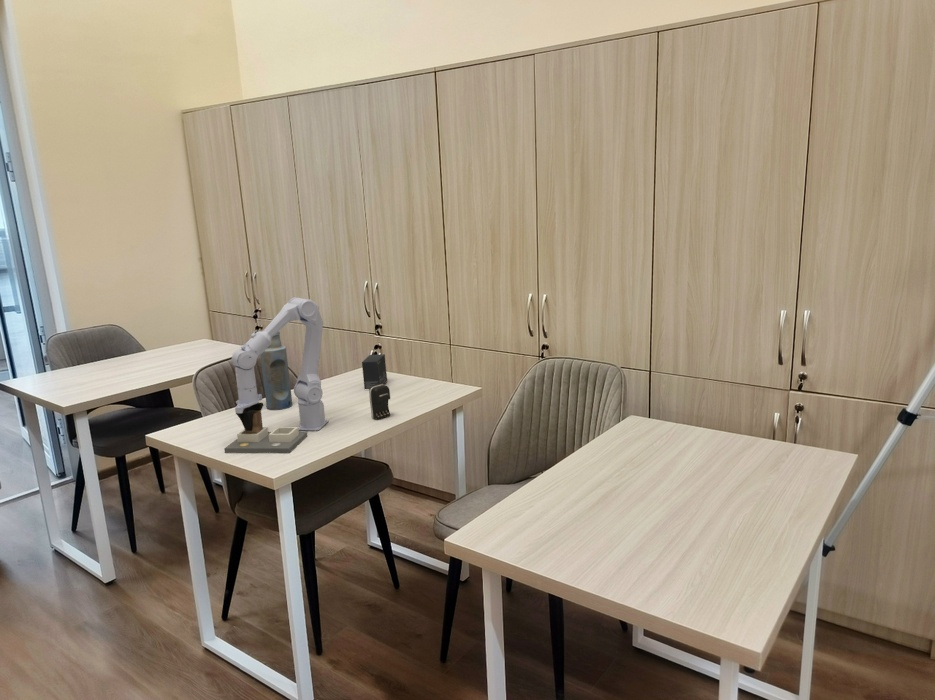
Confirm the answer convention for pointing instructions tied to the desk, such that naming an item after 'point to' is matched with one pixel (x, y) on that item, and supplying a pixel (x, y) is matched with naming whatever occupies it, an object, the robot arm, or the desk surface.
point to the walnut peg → (256, 423)
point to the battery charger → (379, 401)
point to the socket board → (267, 441)
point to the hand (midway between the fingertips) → (252, 428)
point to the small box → (374, 371)
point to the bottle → (276, 375)
